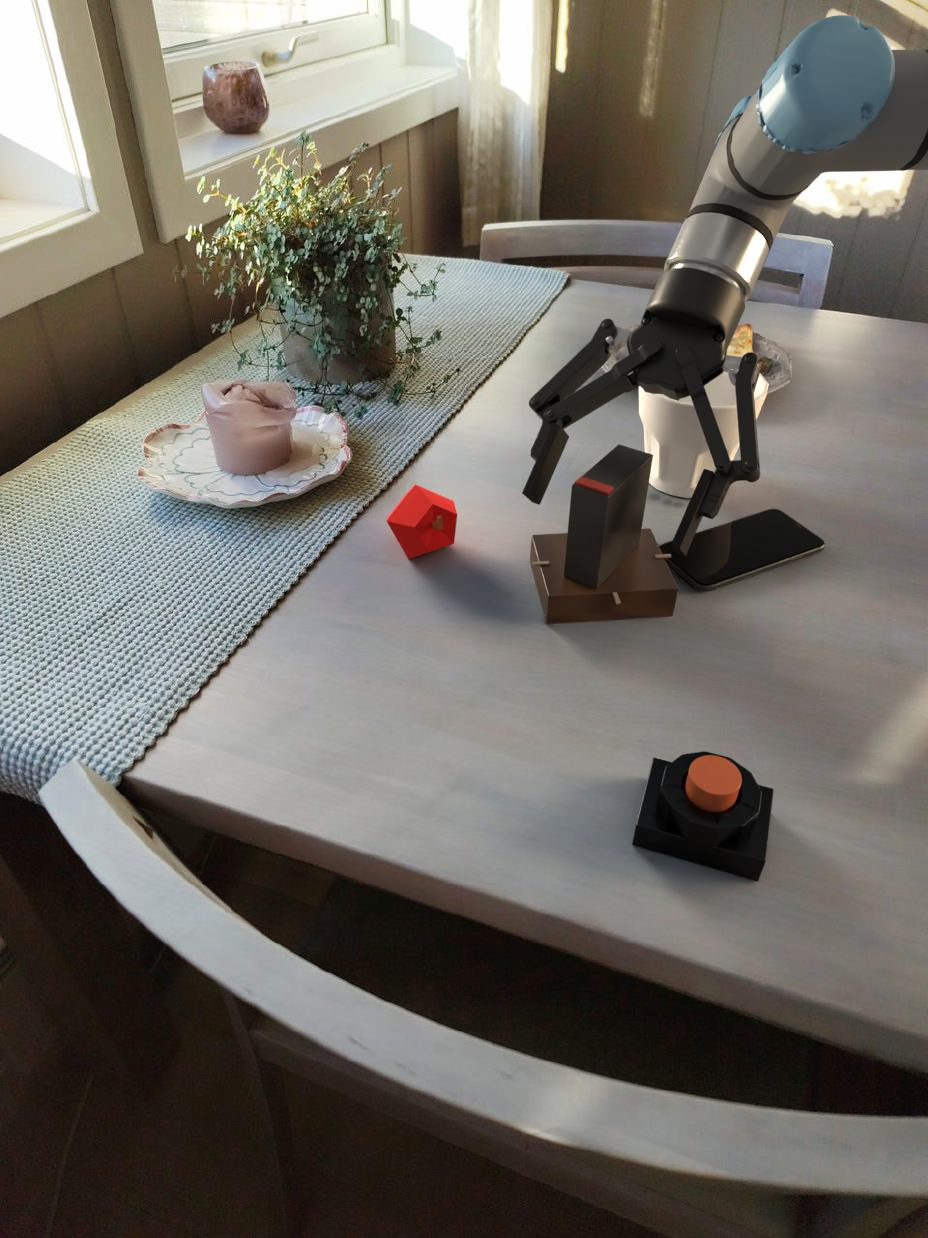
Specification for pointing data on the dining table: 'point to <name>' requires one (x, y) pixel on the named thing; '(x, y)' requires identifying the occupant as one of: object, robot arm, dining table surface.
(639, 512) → the dark grey block
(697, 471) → the cup
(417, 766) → the dining table surface
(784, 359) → the food plate
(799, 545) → the smartphone
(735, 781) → the button
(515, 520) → the dining table surface
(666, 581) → the base
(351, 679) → the dining table surface
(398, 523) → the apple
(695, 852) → the button block
